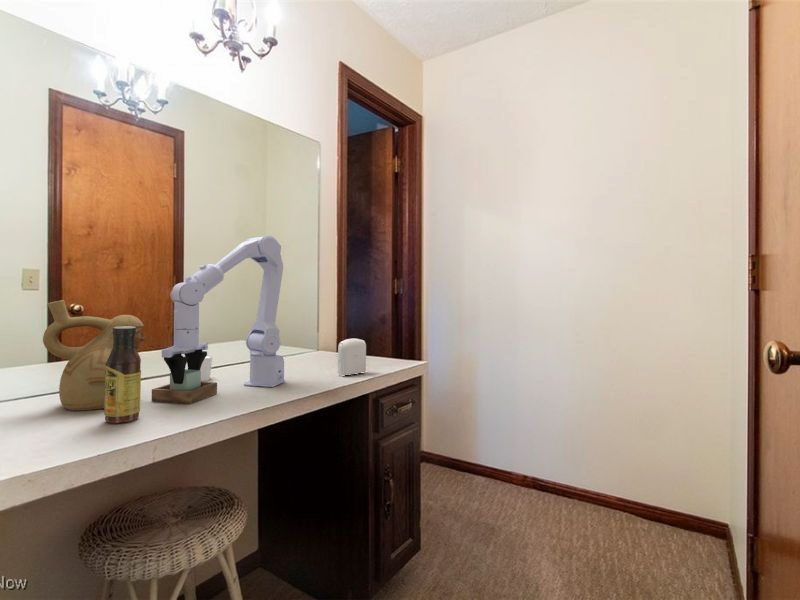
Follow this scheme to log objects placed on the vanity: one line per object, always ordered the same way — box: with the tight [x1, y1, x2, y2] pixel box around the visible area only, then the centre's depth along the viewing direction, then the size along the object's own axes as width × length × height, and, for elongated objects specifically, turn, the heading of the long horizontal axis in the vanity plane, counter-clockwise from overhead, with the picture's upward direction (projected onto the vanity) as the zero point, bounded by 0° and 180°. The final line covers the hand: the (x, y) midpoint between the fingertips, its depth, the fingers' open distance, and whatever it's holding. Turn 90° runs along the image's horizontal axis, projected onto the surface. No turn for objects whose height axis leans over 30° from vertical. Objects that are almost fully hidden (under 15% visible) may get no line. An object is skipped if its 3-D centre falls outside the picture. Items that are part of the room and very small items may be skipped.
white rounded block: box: [200, 355, 213, 382], centre depth 123 cm, size 7×7×7 cm
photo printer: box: [337, 337, 367, 376], centre depth 135 cm, size 10×4×12 cm, turn 133°
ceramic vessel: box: [42, 299, 147, 411], centre depth 95 cm, size 17×20×25 cm
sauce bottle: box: [103, 326, 142, 425], centre depth 84 cm, size 7×6×20 cm
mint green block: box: [169, 368, 201, 391], centre depth 102 cm, size 5×5×4 cm
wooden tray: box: [151, 381, 218, 405], centre depth 102 cm, size 11×11×3 cm
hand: (185, 381), depth 102 cm, fingers closed on mint green block, 5 cm apart
